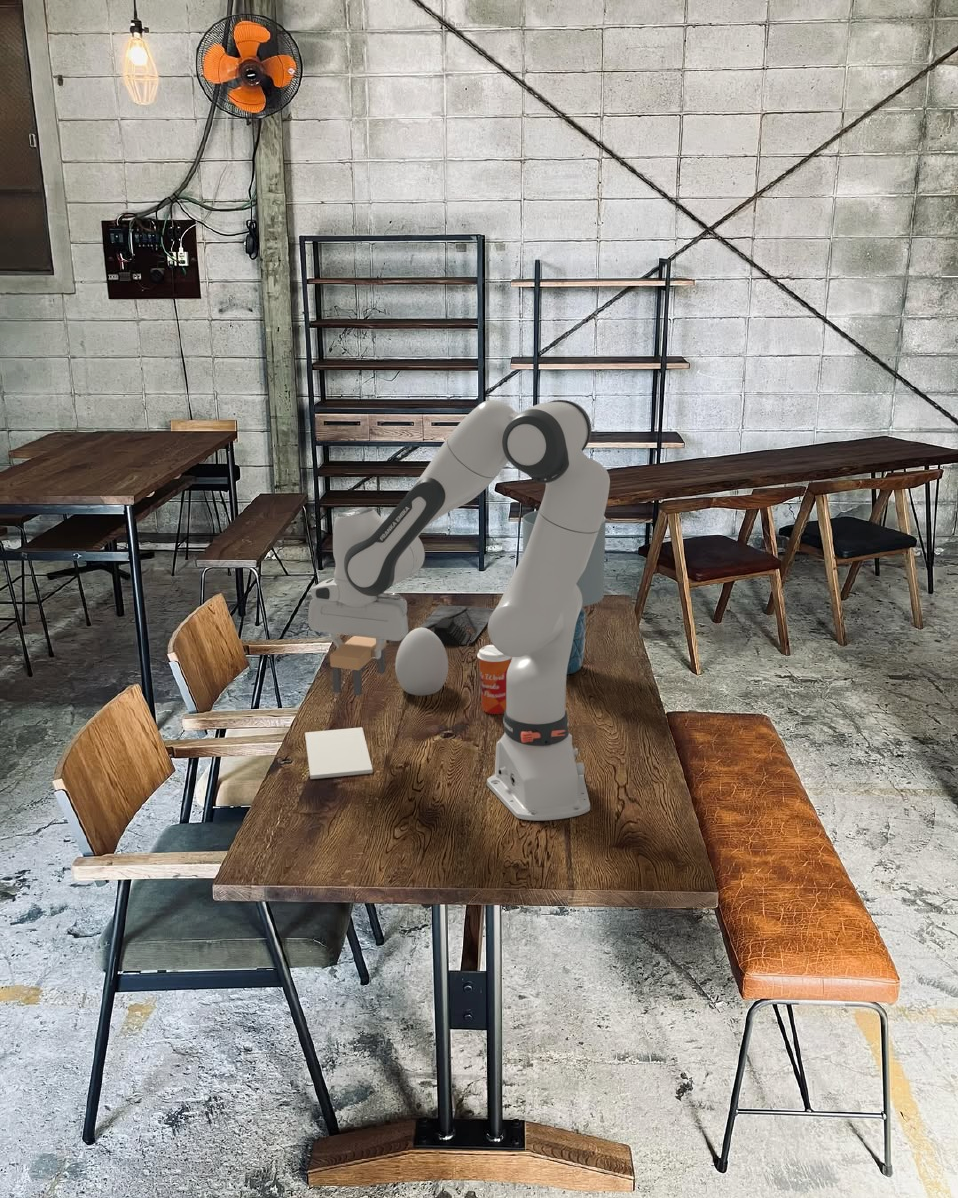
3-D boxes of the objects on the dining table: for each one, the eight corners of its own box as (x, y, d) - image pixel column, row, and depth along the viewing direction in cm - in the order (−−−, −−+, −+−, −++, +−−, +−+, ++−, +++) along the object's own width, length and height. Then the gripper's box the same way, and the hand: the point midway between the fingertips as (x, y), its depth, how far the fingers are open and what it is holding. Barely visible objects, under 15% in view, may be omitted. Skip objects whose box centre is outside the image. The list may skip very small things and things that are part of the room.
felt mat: (372, 773, 206) (372, 769, 206) (310, 779, 204) (310, 775, 203) (362, 730, 225) (362, 727, 224) (305, 736, 222) (304, 732, 222)
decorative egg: (436, 676, 254) (434, 616, 249) (457, 693, 244) (456, 632, 239) (388, 684, 249) (386, 624, 244) (407, 703, 238) (405, 640, 234)
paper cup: (471, 712, 233) (470, 652, 229) (487, 699, 240) (487, 641, 236) (503, 718, 230) (503, 658, 226) (518, 706, 236) (518, 647, 232)
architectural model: (471, 653, 273) (495, 623, 302) (473, 631, 272) (497, 603, 300) (407, 642, 277) (437, 613, 305) (409, 620, 275) (439, 593, 303)
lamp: (540, 650, 270) (541, 505, 258) (612, 662, 262) (617, 513, 250) (509, 676, 253) (509, 522, 242) (584, 689, 245) (588, 531, 234)
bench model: (360, 667, 220) (359, 631, 218) (386, 671, 219) (386, 634, 216) (331, 692, 208) (330, 654, 205) (359, 696, 206) (358, 658, 203)
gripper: (412, 590, 207) (413, 656, 211) (317, 580, 213) (319, 644, 217) (400, 599, 201) (401, 667, 206) (303, 589, 207) (306, 655, 211)
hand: (358, 655), depth 211 cm, fingers closed on bench model, 6 cm apart
